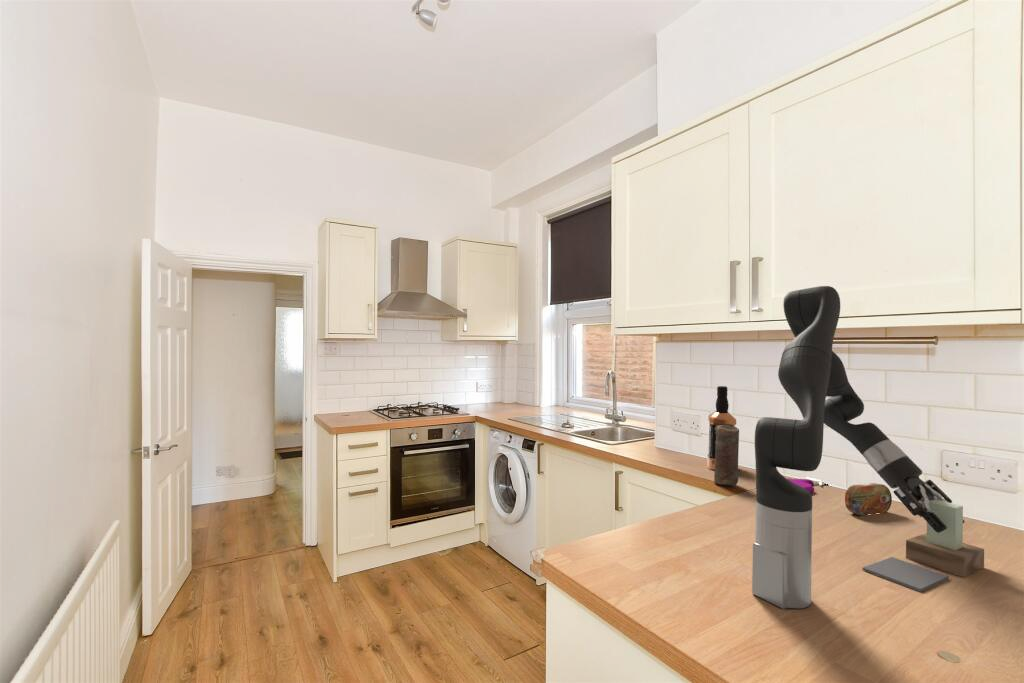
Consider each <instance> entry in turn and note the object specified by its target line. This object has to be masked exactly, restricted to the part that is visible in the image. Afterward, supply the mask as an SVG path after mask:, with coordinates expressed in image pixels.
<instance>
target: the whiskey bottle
mask: <svg viewBox="0 0 1024 683" xmlns="http://www.w3.org/2000/svg"><path fill="white" fill-rule="evenodd" d="M716 389H717V390H716V396H717V398H716V400H715V411H714V412H712V413H710V414H709V415H708V417H707V420H708V423H709V431H708V433H709V434H708V453H707V457H706V458H707V459H706V464H707V467H708V468H707V469H709V470H713V471H715V453H716V428H717V426H718V425H729V426H734V427H736V425H737V418H735V417H734V416H733V415H732V414H731V413H730V412H729V407H730V406H729V400H728V391H729V390H728V386H726V385H725V386H724V385H718V386H717V387H716Z"/></svg>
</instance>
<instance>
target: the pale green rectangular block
mask: <svg viewBox="0 0 1024 683" xmlns="http://www.w3.org/2000/svg"><path fill="white" fill-rule="evenodd" d="M929 502H930V503H929V507H930V509H931V511H932V512H933V513H934V514H935V515H936V516H937V517H938V518H939V519H940V520H941V521H942V522H943V523H944V524H945V525H946V526H947V529H946V530H944V531H942V532H940V533H937V532H936V531H935V530H934V529H933V528H932V527H931V526H930V525H929V524H928V523H927V522H926V533H927V542H929V543H933V544H936V545H940V546H943V547H946V548H950V549H953V550H957V549H960V548H962V547H963V543H964V542H963V539H964V536H963V535H964V532H963V529H964V527H963V526H964V523H963V520H964V518H963V517H964V506H963V505H961V504H960V505H959V504H957V503H953V502H952V503H948V502H944V501H939V500H935V499H934V500H930V501H929ZM932 512H930V513H932Z"/></svg>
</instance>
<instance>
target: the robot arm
mask: <svg viewBox="0 0 1024 683" xmlns="http://www.w3.org/2000/svg"><path fill="white" fill-rule="evenodd" d="M782 306H783V312H784V316H785V319H786V322H787V324H788V326H789V329H790V331H791V333H792V335H793V336H794V338H793V339H792V340H791V341H790V342H789V343H788V344H787V345H786V347H785V348H784V349H783V351H782V354H781V356H780V357H781V358H780V362H779V368H778V374H777V376H778V380H779V383H780V385H781V386H782V388H783V389H784V391H785V392H786V394H788V396H789V397H790V398H791V399H792V401H793V402H794V404H796V406H797V408H798V409H799V411H800V413H801V416H802V417H803V419H790V418H783V417H769V416H766V417H765V416H764V417H761V418H760V419H758V421H757V423H756V425H755V430H754V456H755V457H754V458H755V542H754V543H753V544H752V578H751V579H752V580H751V589H752V590H751V593H752V594H753V595H755V596H757V597H758V598H760V599H763V600H765V601H767V602H769V603H771V604H773V605H775V606H777V607H778V608H781V609H783V610H785V609H805V608H808V607H809V606H811V604H812V554H813V553H812V551H813V550H812V549H813V548H812V544H813V538H812V537H813V535H812V534H813V532H812V531H813V495H812V494H810V492H809V491H808V490H806V489H805V488H803V487H801V486H799V485H797V484H795V483H793V482H791V481H789V480H788V479H789V478H786V477H784V475H782V473H780V472H779V470H778V469H777V468H779V469H780V468H781V469H787V470H794V471H799V472H801V471H802V472H814V471H816V470H817V469H818V467H819V466H820V463H821V460H822V456H823V450H824V449H823V447H824V429H825V427H824V425H825V426H827V427H829V428H830V429H831V430H832V431H834V432H836V433H837V434H839V435H840V436H842V437H843V438H844V439H845V440H847V441H848V442H849V443H851V444H852V446H853V447H855V449H856V450H857V451H858V452H859V453H860V454H861V455H862V457H863V458H864V459H865V460H866V462H867V463H868V464H869V466H870V467H871V468H872V469H873V471H875V472H876V473H877V474H878V475H879V476H880V478H881V479H882V480H883V481H884V482H885V483H886V484H887V486H889V488H891V489H895V490H893V494H894V495H895V496H896V497H897V499H898V500H899V501H900V502H901V503H902V504H903V505H904V506H905V508H906V509H907V510H908V511H909V512H910V513H911V515H913V516H918V517H920V518H923V519H924V520H925V521H926V524H927V523H928V524H929V525H930V526H931V527H932V528H933V529H934V530H935V531H936V532H937V533H940V532H942V531H944V530H946V529H947V526H946V525H945V524H944V523H943V522H942V521H941V520H940V519H939V518H938V517H937V516H936V515H935V514H934V513H933V512H932V511H931V509H930V507H929V503H930V502H929V501H930V500H934V499H935V500H939V501H944V502H948V503H952V504H953V501H952V499H951V498H950V497H949V496H948V495H947V494H946V493H945V492H944V491H943V490H942V489H941V488H940V487H939V486H938V485H936V483H935V482H934V481H933V480H931V479H927V480H926V481H923V480H922V479H921V478H920V476H921V475H922V474H923V471H922V469H921V468H920V467H919V466H918V465H917V464H916V463H915V462H914V461H913V460H912V459H911V458H910V457H909V456H908V455H907V454H906V452H904V450H902V449H901V448H900V447H899V446H898V445H897V444H896V443H894V442H893V441H892V440H891V439H890V438H889V437H888V436H887V435H886V434H885V433H884V432H883V431H882V430H881V429H880V427H878V426H877V425H876V424H875V423H872V422H863V423H858V424H854V423H851V422H850V421H852V420H854V419H857V418H858V417H860V416H861V415H862V414H863V412H864V411H865V403H864V402H863V400H862V399H861V398H860V396H859V395H858V394H857V392H856V391H855V389H854V388H853V387H852V385H851V383H850V382H849V380H848V379H849V378H848V375H847V371H846V369H845V366H844V362H843V361H842V359H841V358H840V357H839V355H837V353H836V352H835V351H833V345H834V338H835V334H836V330H837V327H838V323H839V320H840V315H841V314H840V313H841V299H840V294H839V292H838V291H837V289H836V288H834V287H833V286H830V285H822V286H821V285H820V286H814V287H807V288H802V289H796V290H792V291H791V290H790V291H789V292H787V293H786V294H785V295H784V299H783V304H782ZM827 397H829V398H827ZM826 398H827V399H826ZM930 512H932V513H930ZM965 522H966V521H965V520H964V519H963V524H964V523H965Z"/></svg>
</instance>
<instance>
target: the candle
mask: <svg viewBox="0 0 1024 683" xmlns="http://www.w3.org/2000/svg"><path fill="white" fill-rule="evenodd" d="M739 441H740V429H739V428H738V427H737V426H735V427H734V426H729V425H718V426H717V428H716V453H715V470H714V476H713V477H714V478H713V480H714V481H713V482H714V483H715V484H718V485H722V486H728V487H733V486H736V485H737V484H738V482H739V479H738V478H739V446H740V445H739V444H740V442H739Z"/></svg>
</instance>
